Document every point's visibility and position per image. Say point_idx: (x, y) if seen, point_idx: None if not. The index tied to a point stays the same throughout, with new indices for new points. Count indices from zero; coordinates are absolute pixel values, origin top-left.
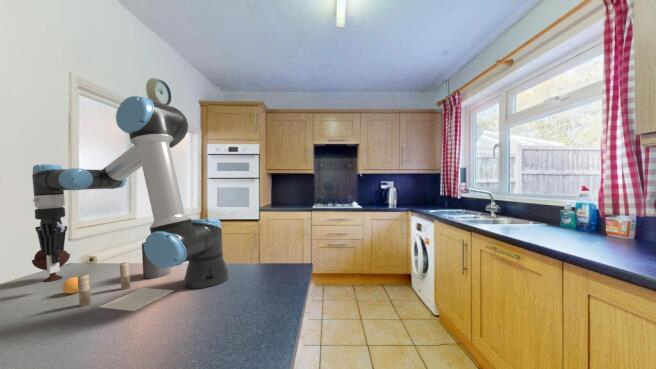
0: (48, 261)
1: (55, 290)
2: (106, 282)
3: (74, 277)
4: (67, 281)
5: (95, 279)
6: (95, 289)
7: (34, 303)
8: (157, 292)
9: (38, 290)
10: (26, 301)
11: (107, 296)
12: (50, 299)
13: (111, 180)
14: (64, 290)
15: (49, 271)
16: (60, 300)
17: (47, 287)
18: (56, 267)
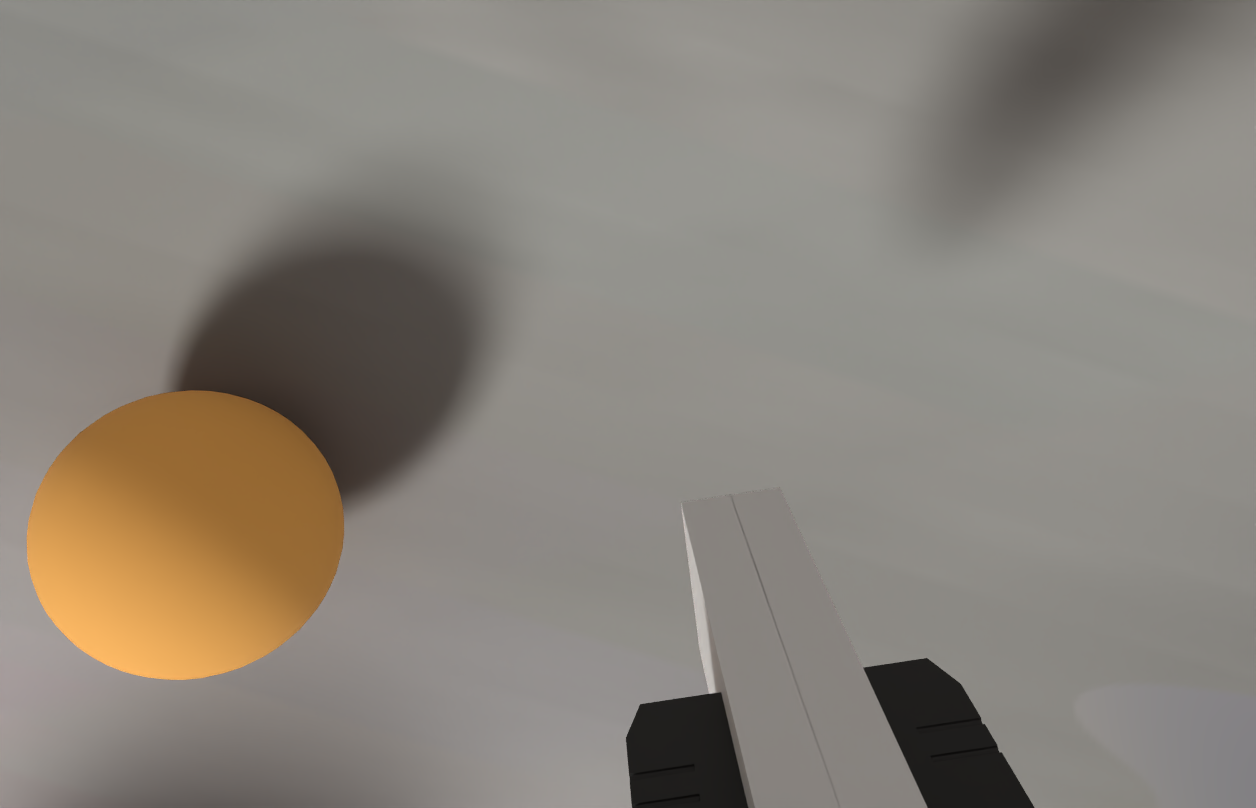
0: (789, 695)
1: (723, 417)
2: (309, 803)
3: (108, 627)
4: (97, 505)
5: None
6: None
7: (298, 31)
8: None
9: (1041, 325)
10: (585, 24)
11: None
12: (258, 213)
13: None
14: (163, 393)
15: (707, 523)
16: (13, 251)
17: (1048, 431)
18: (709, 670)
